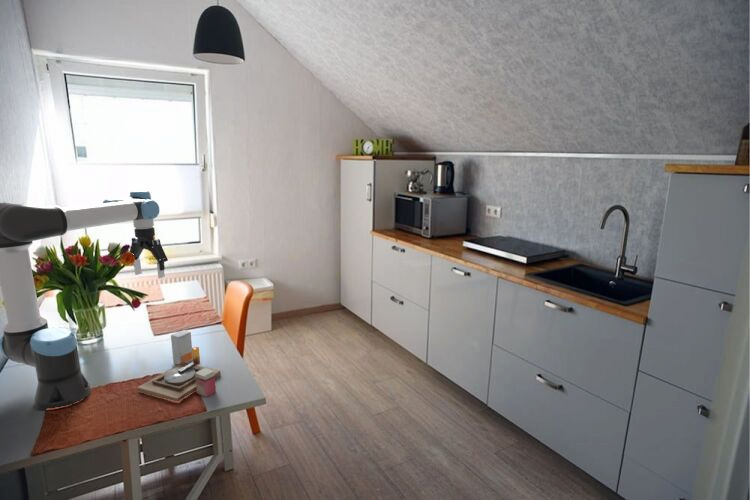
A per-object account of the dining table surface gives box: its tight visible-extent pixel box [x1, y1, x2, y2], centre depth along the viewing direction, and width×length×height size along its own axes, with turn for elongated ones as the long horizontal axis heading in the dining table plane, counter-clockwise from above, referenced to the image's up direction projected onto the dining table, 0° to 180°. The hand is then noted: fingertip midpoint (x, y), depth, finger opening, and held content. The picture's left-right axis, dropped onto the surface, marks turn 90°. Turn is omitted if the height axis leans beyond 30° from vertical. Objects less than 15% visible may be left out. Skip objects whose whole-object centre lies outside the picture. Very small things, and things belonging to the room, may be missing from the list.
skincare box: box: [170, 329, 193, 365], centre depth 170 cm, size 6×4×12 cm
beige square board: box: [137, 362, 221, 401], centre depth 155 cm, size 20×18×3 cm
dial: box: [164, 346, 201, 386], centre depth 155 cm, size 14×10×8 cm
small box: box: [195, 367, 217, 398], centre depth 148 cm, size 5×4×8 cm
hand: (149, 275), depth 189 cm, fingers open, 13 cm apart
